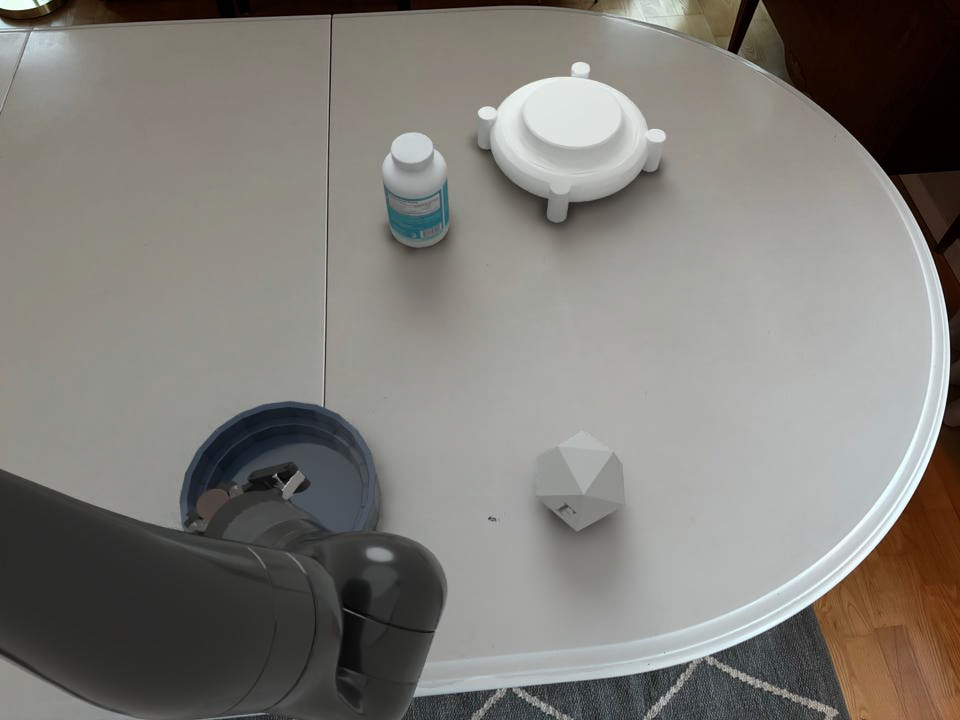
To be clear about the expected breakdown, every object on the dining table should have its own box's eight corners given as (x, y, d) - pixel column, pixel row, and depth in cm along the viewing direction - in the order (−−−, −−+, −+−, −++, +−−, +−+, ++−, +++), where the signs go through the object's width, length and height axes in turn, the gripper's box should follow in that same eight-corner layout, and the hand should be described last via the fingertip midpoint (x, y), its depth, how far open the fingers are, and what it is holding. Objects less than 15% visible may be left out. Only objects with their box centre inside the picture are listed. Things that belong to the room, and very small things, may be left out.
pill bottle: (410, 196, 101) (402, 114, 89) (460, 218, 99) (458, 137, 87) (378, 236, 97) (365, 156, 86) (429, 259, 96) (423, 181, 84)
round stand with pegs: (460, 209, 100) (460, 168, 94) (493, 81, 112) (494, 38, 106) (651, 236, 98) (663, 197, 92) (663, 103, 110) (674, 60, 104)
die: (517, 471, 82) (516, 499, 73) (574, 408, 81) (581, 427, 71) (578, 524, 83) (585, 559, 73) (636, 462, 82) (652, 489, 72)
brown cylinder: (240, 561, 74) (210, 526, 66) (221, 542, 75) (189, 505, 67) (263, 539, 75) (236, 502, 67) (244, 521, 76) (215, 482, 68)
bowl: (281, 640, 73) (269, 628, 69) (157, 512, 79) (139, 494, 75) (418, 498, 80) (415, 479, 76) (295, 391, 86) (285, 368, 82)
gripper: (312, 448, 58) (244, 422, 72) (155, 594, 52) (116, 534, 67) (371, 519, 60) (295, 480, 75) (228, 664, 55) (175, 592, 70)
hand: (210, 505), depth 71 cm, fingers closed on brown cylinder, 3 cm apart
